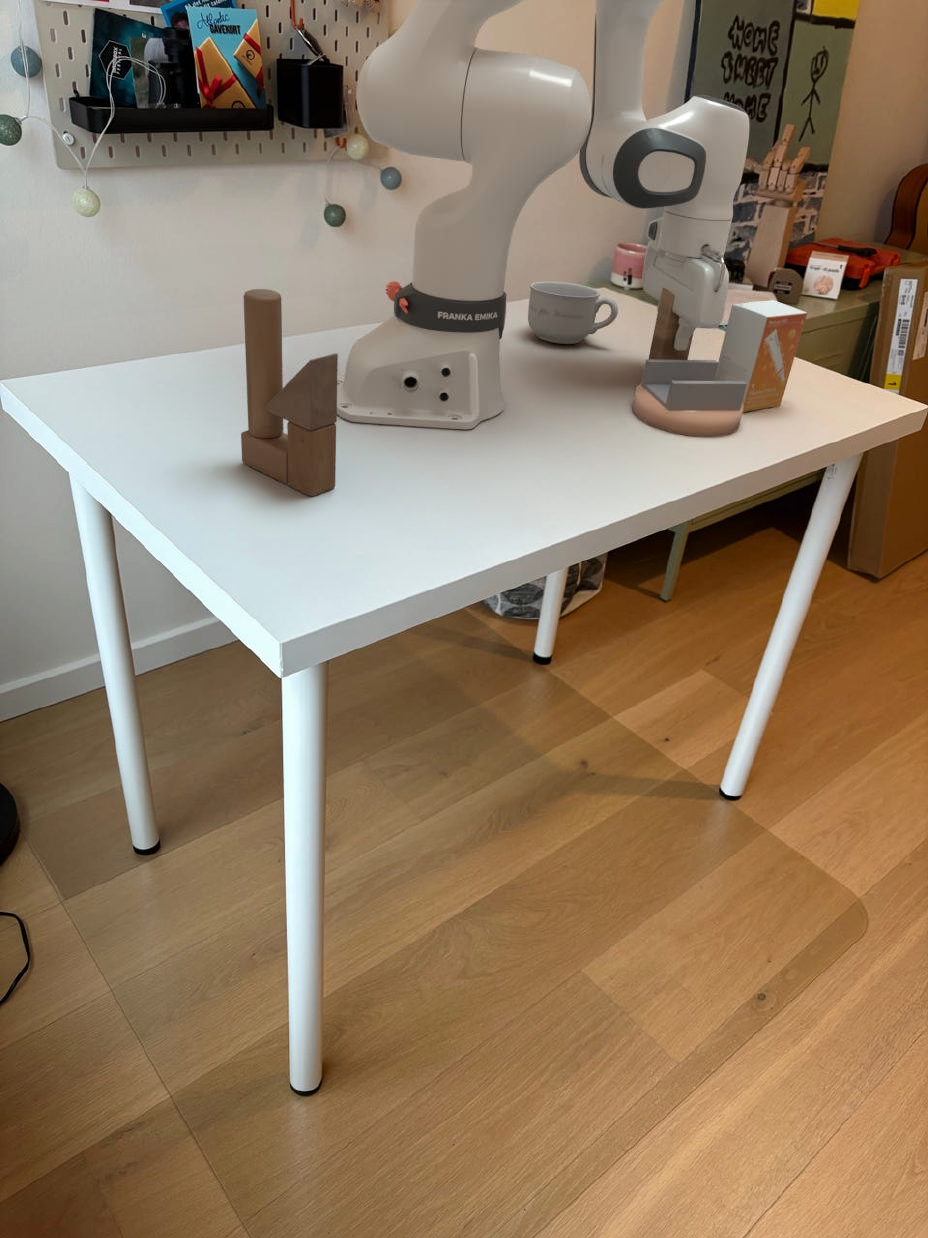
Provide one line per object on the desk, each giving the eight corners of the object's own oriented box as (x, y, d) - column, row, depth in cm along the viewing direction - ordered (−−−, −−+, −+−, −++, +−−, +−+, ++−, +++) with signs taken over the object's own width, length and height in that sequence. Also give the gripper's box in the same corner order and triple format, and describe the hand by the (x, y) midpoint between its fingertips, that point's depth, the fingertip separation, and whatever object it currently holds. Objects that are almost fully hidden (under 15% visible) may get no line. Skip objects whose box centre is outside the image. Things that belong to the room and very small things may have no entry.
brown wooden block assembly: (310, 498, 96) (310, 318, 86) (240, 464, 101) (233, 290, 91) (337, 488, 98) (340, 312, 88) (267, 455, 104) (263, 285, 94)
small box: (742, 414, 128) (767, 316, 121) (708, 397, 132) (730, 302, 125) (782, 406, 132) (809, 311, 125) (747, 391, 136) (772, 298, 129)
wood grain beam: (655, 383, 133) (673, 295, 127) (645, 373, 136) (662, 287, 130) (682, 383, 134) (701, 296, 127) (671, 374, 137) (689, 288, 131)
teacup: (511, 337, 148) (517, 284, 144) (546, 324, 156) (553, 273, 151) (589, 359, 142) (598, 305, 138) (622, 345, 150) (631, 293, 145)
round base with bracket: (657, 437, 118) (667, 390, 115) (616, 396, 129) (624, 352, 126) (758, 436, 121) (770, 390, 118) (710, 396, 133) (720, 354, 129)
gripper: (750, 256, 117) (723, 367, 124) (685, 223, 134) (665, 322, 141) (703, 254, 116) (678, 366, 123) (643, 221, 132) (625, 321, 140)
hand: (671, 342), depth 132 cm, fingers closed on wood grain beam, 4 cm apart
